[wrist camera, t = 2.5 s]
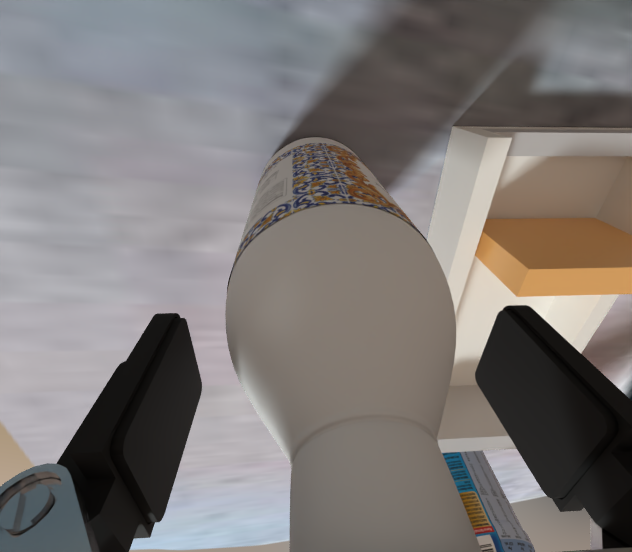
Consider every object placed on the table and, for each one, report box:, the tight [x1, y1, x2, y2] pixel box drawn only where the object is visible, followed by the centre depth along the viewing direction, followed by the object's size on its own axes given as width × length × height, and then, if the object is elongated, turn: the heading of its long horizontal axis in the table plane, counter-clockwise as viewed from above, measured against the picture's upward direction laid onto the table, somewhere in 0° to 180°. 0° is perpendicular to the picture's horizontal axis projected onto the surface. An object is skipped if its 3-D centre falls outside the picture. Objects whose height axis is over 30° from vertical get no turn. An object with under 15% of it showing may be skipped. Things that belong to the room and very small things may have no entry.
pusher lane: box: [427, 126, 632, 453], centre depth 23 cm, size 24×12×6 cm, turn 179°
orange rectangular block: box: [475, 218, 632, 297], centre depth 18 cm, size 2×9×6 cm, turn 89°
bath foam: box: [226, 137, 482, 552], centre depth 12 cm, size 7×7×20 cm
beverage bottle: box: [442, 451, 535, 552], centre depth 28 cm, size 8×8×20 cm
